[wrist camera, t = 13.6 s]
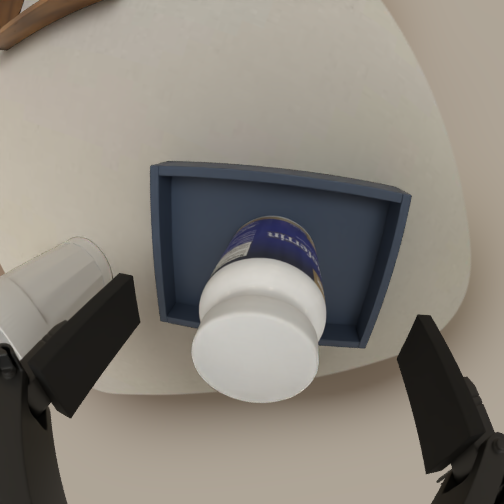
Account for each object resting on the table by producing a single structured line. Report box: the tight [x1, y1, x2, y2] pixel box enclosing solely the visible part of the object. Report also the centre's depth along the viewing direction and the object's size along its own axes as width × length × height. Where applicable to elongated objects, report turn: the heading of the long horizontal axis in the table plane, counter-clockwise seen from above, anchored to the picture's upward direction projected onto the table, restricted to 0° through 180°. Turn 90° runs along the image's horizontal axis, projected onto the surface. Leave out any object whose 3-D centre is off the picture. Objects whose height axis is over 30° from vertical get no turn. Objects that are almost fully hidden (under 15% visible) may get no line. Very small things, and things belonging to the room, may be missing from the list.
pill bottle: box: [191, 216, 326, 403], centre depth 14 cm, size 6×6×10 cm
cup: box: [0, 237, 112, 361], centre depth 17 cm, size 8×8×12 cm
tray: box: [150, 161, 412, 348], centre depth 18 cm, size 15×11×3 cm
